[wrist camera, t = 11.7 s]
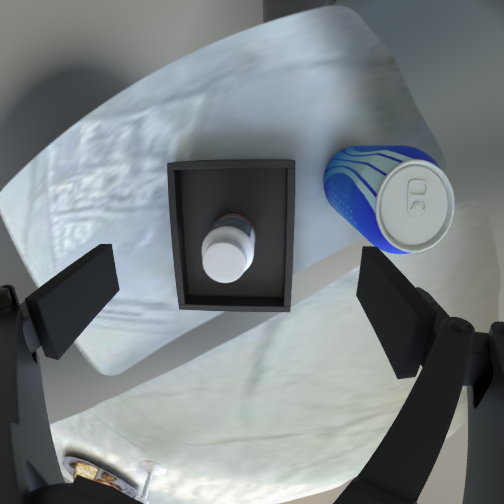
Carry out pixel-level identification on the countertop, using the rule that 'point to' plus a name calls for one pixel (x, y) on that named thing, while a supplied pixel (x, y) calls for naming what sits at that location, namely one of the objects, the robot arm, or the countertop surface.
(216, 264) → the pill bottle
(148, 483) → the champagne flute
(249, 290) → the tray
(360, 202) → the beer can
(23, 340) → the robot arm
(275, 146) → the countertop surface
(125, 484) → the food plate
